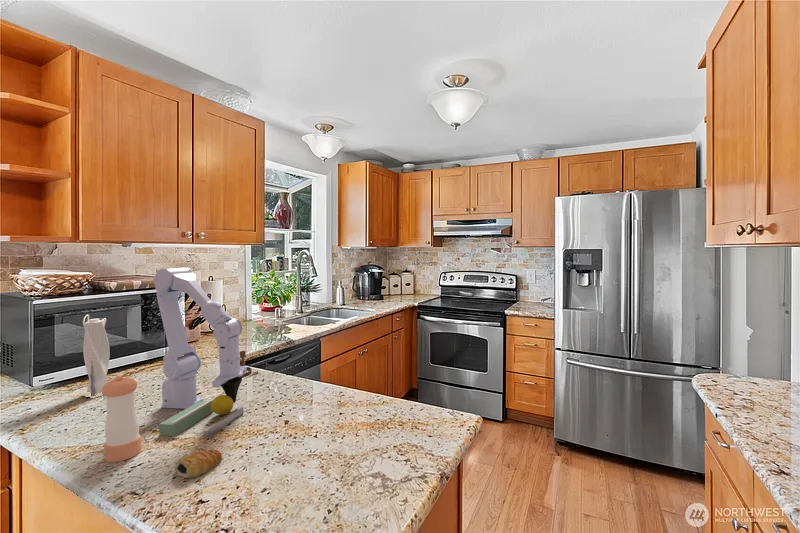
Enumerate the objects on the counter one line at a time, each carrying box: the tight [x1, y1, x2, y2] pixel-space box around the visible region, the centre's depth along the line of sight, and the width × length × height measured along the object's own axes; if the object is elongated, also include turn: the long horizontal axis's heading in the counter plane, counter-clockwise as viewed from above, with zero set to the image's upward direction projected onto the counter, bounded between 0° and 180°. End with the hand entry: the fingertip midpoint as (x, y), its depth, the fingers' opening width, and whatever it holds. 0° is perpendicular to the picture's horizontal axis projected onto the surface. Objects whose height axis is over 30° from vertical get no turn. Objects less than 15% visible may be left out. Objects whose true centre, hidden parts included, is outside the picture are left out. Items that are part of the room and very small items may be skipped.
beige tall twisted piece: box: [82, 314, 111, 396], centre depth 138 cm, size 8×8×28 cm
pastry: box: [174, 448, 223, 479], centre depth 88 cm, size 9×7×4 cm
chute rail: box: [203, 405, 244, 439], centre depth 110 cm, size 1×16×2 cm, turn 170°
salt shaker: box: [101, 375, 142, 463], centre depth 95 cm, size 7×7×19 cm
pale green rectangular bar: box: [158, 399, 214, 437], centre depth 112 cm, size 4×16×4 cm, turn 169°
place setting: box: [238, 350, 259, 379], centre depth 160 cm, size 18×20×6 cm
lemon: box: [211, 394, 234, 416], centre depth 117 cm, size 6×6×8 cm
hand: (231, 402), depth 121 cm, fingers closed, pressing on lemon
